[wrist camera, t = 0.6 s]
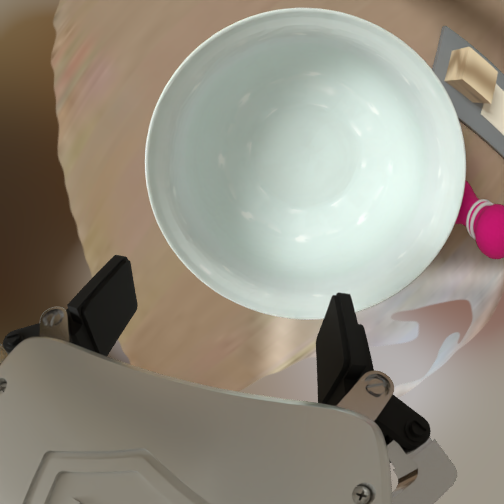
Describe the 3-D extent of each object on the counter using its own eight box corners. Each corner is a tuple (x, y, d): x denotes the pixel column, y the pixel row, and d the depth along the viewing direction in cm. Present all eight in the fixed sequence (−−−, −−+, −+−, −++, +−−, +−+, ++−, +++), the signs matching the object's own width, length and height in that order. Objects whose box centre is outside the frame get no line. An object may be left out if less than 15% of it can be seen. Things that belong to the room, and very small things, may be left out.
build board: (442, 26, 21) (445, 25, 20) (534, 112, 22) (537, 113, 21) (424, 95, 28) (427, 95, 27) (517, 173, 29) (521, 174, 28)
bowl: (416, 242, 39) (456, 296, 26) (225, 272, 46) (202, 333, 33) (391, 38, 25) (439, 9, 12) (167, 79, 32) (109, 69, 19)
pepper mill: (458, 171, 32) (543, 221, 14) (449, 213, 35) (521, 281, 18) (422, 162, 33) (509, 209, 15) (414, 207, 36) (485, 279, 19)
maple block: (451, 50, 22) (469, 46, 18) (479, 72, 22) (497, 71, 18) (444, 80, 25) (462, 79, 21) (472, 102, 25) (491, 103, 21)
